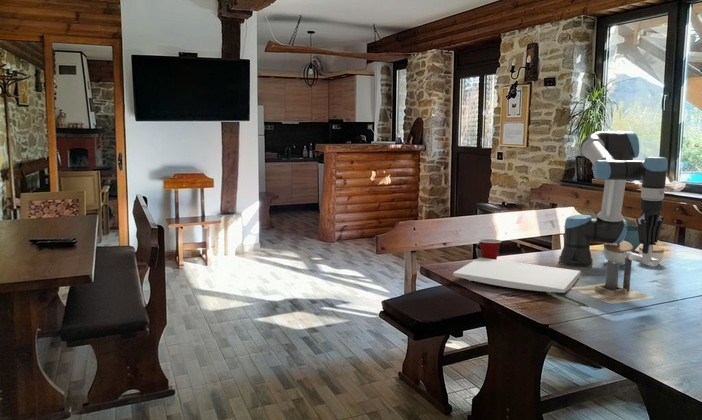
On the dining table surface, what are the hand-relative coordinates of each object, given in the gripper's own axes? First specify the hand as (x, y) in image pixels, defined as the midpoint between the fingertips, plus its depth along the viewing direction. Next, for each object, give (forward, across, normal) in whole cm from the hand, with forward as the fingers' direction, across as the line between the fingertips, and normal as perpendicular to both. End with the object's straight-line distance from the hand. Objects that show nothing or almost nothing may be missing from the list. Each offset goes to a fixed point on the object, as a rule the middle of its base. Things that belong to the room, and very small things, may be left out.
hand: (646, 261), depth 209 cm
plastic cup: (+17, -13, +71) cm, 74 cm away
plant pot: (+17, +71, +62) cm, 96 cm away
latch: (+1, +3, +4) cm, 5 cm away
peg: (+14, -5, +10) cm, 18 cm away
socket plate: (+16, -5, +10) cm, 20 cm away
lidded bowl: (+16, +43, +45) cm, 64 cm away
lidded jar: (+16, +57, +37) cm, 70 cm away
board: (+17, -23, +42) cm, 51 cm away
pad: (+16, -21, +14) cm, 30 cm away
